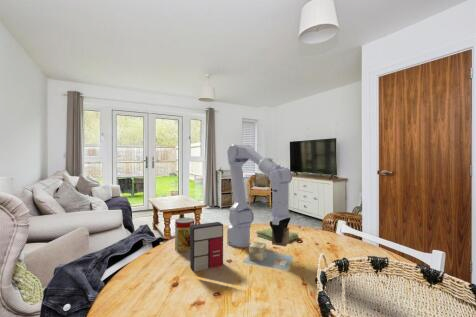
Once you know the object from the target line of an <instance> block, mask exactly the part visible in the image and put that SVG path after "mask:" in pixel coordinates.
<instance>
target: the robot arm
mask: <svg viewBox="0 0 476 317" xmlns="http://www.w3.org/2000/svg"><path fill="white" fill-rule="evenodd" d="M254 148H255V147H254V146H251V145H250V144H234V143H232V144H230V146H229V147H228V149H227V152H226V154H227V160H228V165H229V172H230V181H231V182H230V183H231V187H232V188H231V189H232V198H233V204H232V206H230V207H229V209H228V210H229V215H228V220H229V223H230V224H229V225H228V227H227V229H226V230H227V231H226V234H227V236H226V241H227V243H226V245H227V246H232V247H236V248H249V246H250V245H251V235H250V234H251V226H252V223H253V222H254V220H255V214H254V212H253V210H252V205H250V204H249V203H248V202H247V197H246V190H245V182H244V175H243V165H245V164H246V163H247V162H248V161H249V160H250V161H251V162H253V163H254V164H256V165H258V170H259V171H260V172H261V173H263V174H264V175H265V176H267V177H268V180H269V183H270V187H271V189H272V190H271V191H272V192H271V193H272V194H271V196H272V199H271V200H272V203H271V204H272V206H271V207H272V208H271V209H272V210H271V212H272V213H271V217H272V221H269V226H270V228H272V231H273V234H274V239H275V242H276V243H282V239H283V232H284V229H285V228H288V226H289V223H290V221H291V219H292V218H293V216H292V215H293V214H289V210H290V209H289V208H290V207H289V205H290V204H289V203H290V202H289V200H290V199H289V194H290V192H289V190H290V189H289V188H290V185H289V184H290V183H291V182H292V180H293V174H292V172H291V170H290V169H289V168H288V167H282V166H281V164H277V163H276V162H274V161H273V158H271V157H263V156H262V155H261V154H260V153H258V152H257V151H256V150H255V149H254Z"/></svg>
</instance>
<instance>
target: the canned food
mask: <svg viewBox="0 0 476 317" xmlns="http://www.w3.org/2000/svg"><path fill="white" fill-rule="evenodd" d="M174 225H175V226H174V229H175V230H174V251H176V250H177V252H178V251H180V252H179V253H186V252H187V251H188V252H190V226H191V225H195V219H194V218H193V217H180V218H176V219H175V221H174ZM188 252H187V253H188Z"/></svg>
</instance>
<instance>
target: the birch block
mask: <svg viewBox="0 0 476 317" xmlns="http://www.w3.org/2000/svg"><path fill="white" fill-rule="evenodd" d="M266 252H267V243H263V242H258V241H252V243H250V245H249V246H248V256H249V260H253V261H259V262H263V260H264V259H265V258H266Z"/></svg>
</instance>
